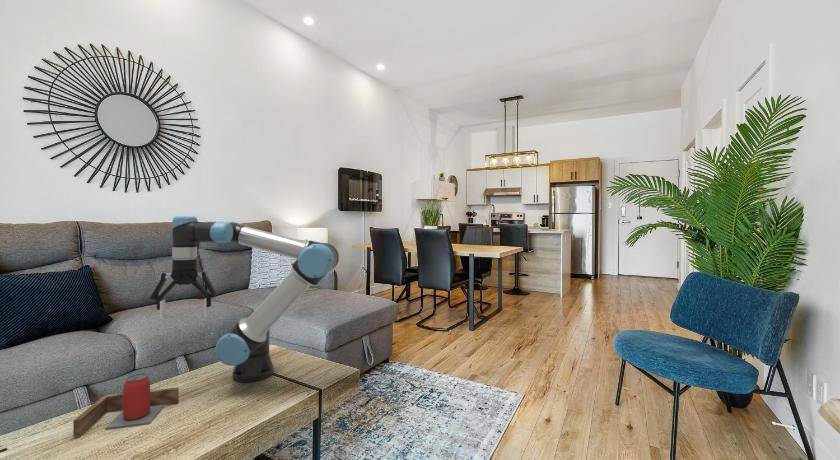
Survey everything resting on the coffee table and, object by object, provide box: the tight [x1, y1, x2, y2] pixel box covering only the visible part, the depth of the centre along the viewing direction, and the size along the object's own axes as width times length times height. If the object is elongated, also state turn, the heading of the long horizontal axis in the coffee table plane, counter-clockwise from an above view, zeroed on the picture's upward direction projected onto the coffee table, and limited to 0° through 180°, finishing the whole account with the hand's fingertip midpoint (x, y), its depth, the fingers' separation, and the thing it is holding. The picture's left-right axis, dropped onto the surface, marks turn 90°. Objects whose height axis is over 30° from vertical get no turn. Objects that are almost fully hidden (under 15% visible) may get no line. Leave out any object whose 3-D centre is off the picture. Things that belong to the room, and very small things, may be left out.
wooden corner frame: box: [72, 386, 180, 439], centre depth 110 cm, size 21×16×5 cm
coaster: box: [105, 405, 165, 431], centre depth 111 cm, size 11×11×1 cm
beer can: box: [122, 373, 151, 420], centre depth 111 cm, size 7×7×12 cm
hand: (184, 317), depth 129 cm, fingers open, 13 cm apart
